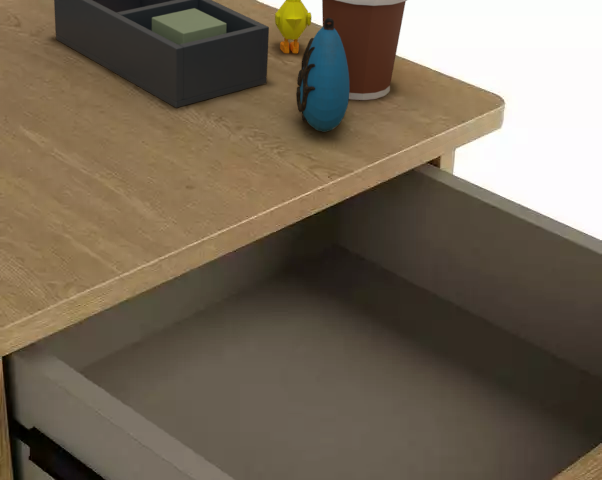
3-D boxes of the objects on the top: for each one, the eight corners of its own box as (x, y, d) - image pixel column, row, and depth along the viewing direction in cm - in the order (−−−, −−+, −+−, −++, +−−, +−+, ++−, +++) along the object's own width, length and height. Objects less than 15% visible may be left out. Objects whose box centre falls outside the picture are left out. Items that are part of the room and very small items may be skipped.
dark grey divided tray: (176, 108, 117) (176, 49, 114) (55, 39, 130) (53, -16, 127) (266, 83, 123) (269, 26, 120) (143, 20, 136) (142, -33, 133)
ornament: (293, 106, 119) (299, 0, 113) (343, 108, 119) (351, 3, 114) (295, 145, 112) (302, 34, 106) (349, 147, 112) (358, 36, 107)
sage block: (182, 85, 120) (183, 33, 117) (151, 68, 123) (151, 17, 120) (225, 74, 123) (226, 23, 120) (193, 57, 126) (194, 7, 123)
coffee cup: (422, 86, 125) (436, -37, 118) (369, 114, 118) (380, -15, 112) (344, 61, 129) (354, -59, 123) (289, 86, 123) (296, -39, 116)
